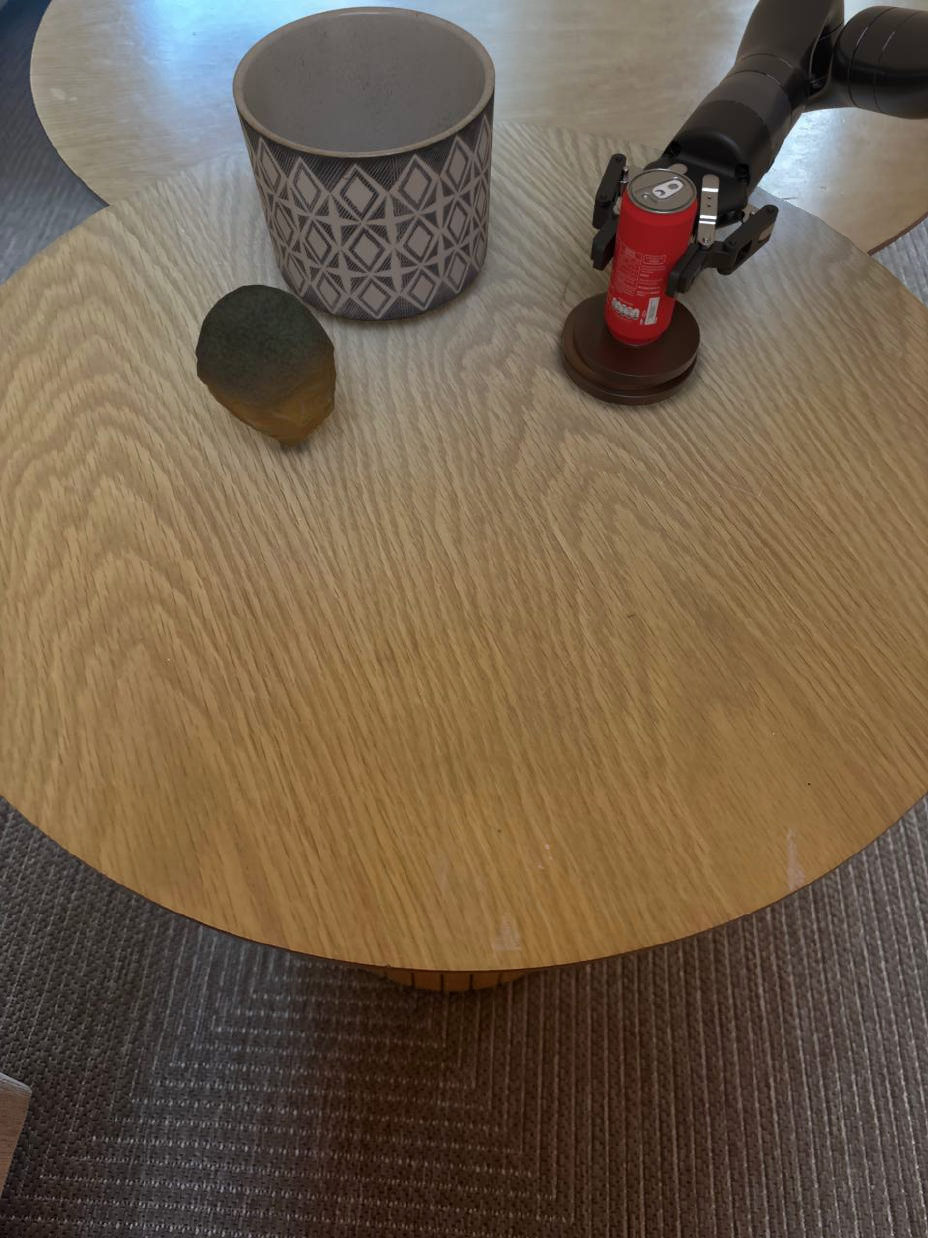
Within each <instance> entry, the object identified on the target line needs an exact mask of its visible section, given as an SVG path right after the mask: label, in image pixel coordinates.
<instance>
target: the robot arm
mask: <svg viewBox="0 0 928 1238" xmlns="http://www.w3.org/2000/svg"><path fill="white" fill-rule="evenodd" d="M749 16H750V17H749V18H748V21H747V23H746V27H745V30H744V32H743V35H742V38H741V40H740V43H739V46H738V50H737V52H736V55H735V60H734V63H733V66H732V67H731V68H730V69H729V70H728V72H727V73H726V75H724V77H723V78H722V79H721V81H720V83H719V84H718V85H717V86H716V87H714V88H713V89H712V90H711V91H709V93H707V95H706V96H705V97H704V98H703V99H702V100H701V101H700V103H699V104H698V105H697V107H696V108H695V109H694V111H693V112H692V113H691V114H690V116H689V117H688V118H687V119H686V121H685V122H684V123H683V125H682V126H681V128H680V129H679V130H678V131H677V133H676V134H675V135H674V136H673V138H672V139H671V140H670V142H668V144H667V146H666V147H665V148H664V150H663V152H662V154H661V155H660V157H659V158H658V159H656V160H654V161H651V162H649V163H647V164H646V165H645V166H644V167H639V166H633V165H629V164H627V161H628V160H627V159H628V157H627V156H626V155H625V154H623V153H617V152H616V153H614V154H612V155H611V156H610V159H609V161H608V163H607V165H606V168H605V171H604V173H603V176H602V179H601V181H600V183H599V186H598V188H597V191H596V193H595V198H594V205H593V214H592V222H591V226H592V227H593V229H595V230H598V231H597V232H596V234H595V235H594V236H593V238H592V242H591V250H590V260H591V261H593V262H592V269H595V270H598V271H600V272H603V271H604V270H605V269H606V267H608V265H609V264H610V262H611V261H612V260H613V254H614V247H615V241H616V234H617V228H618V221H619V214H620V208H621V201H620V202H618V200H619V198H620V199H622V196H623V193H624V192H625V190H626V189H627V186H628V183H629V182H630V180H631V179H632V178H633V177H634V176H635V175H637V174H638V173H640V172H643V171H646V170H650V169H659V168H660V169H668V170H673V171H676V172H679V173H681V174H683V175H685V176H686V177H688V178H689V179H690V180H691V181H692V182H693V183H694V185H695V187H696V192H697V194H696V198H697V203H698V205H697V211H696V215H695V219H694V223H693V228H692V232H691V236H690V238H691V239H690V240H691V242H689V245H688V248H687V250H686V251H685V253H684V254H683V255H682V256H681V257H680V259H679V260H678V262H677V263H676V264H675V266H674V267H673V269H672V270H671V272H670V275H669V277H668V282H667V286H666V291H665V295H666V296H668V297H671V298H675V297H676V298H677V296H678V294H681V295H685V294H686V293H688V292H689V291H690V290H691V289H692V287H693V286H694V285H695V283H696V281H697V280H698V279H699V277H700V275H701V274H702V273H703V272H706V271H707V270H708V269H716V272H717V273H718V274H719V275H721V276H730V275H732V274H733V273H734V272H735V271H737V270H738V269H739V268H740V267H741V266H742V265H743V264H745V262H746V261H748V260H749V259H751V258H752V256H753V255H755V254H756V253H757V252H758V251H759V250H761V249H762V248H763V247H764V246H765V245H766V244H767V243H768V242H769V241H770V239H771V237H772V233H773V231H774V227H775V225H776V222H777V218H778V215H779V212H780V209H779V208H778V207H777V205H774V204H771V203H770V204H764V205H763V206H762V207H761V208H757V207H756V206H754V205H752V204H750V203H749V199H750V197H751V195H752V194H753V192H754V191H755V190H756V188H757V187H758V185H759V184H760V182H761V181H762V180H763V178H764V176H765V175H766V174H768V173H769V171H770V170H771V168H772V167H773V166H774V163H775V162H776V161H775V160H776V159H777V157H778V155H779V153H780V152H781V149H782V147H783V145H784V142H785V140H786V139H787V137H788V135H789V134H790V132H792V130H793V128H794V127H795V125H796V124H797V122H798V121H799V119H800V117H801V116H802V115H803V114H806V113H807V114H808V113H811V112H816V111H823V110H833V109H834V110H835V109H848V108H850V109H851V108H852V109H853V108H855V109H856V108H857V109H859V110H860V109H861V110H864V111H868V112H872V113H877V114H881V115H885V116H887V117H888V116H889V117H893V118H896V119H901V120H902V119H903V120H910V121H919V120H928V10H923V9H916V8H907V7H901V6H893V5H873V6H870V7H869V6H868V7H866V8H864V9H862V10H860V11H858V12H857V13H855V14H854V15H853V16H851V18H850V19H849V20H848V21H847V22H845V19H846V18H845V0H758V2H757V3H756V5H755V7H754V9H753V10H752V12H751V13H750V15H749ZM738 223H741V224H740V226H738V227H737V228H736V229H735V230H734V231H733V232H732V233H730V234H729V235H728V236H727V237H726V238H725V239H724V240H716V231H717V230H720V229H723V228H726V227H730V226H733V225H736V224H738Z"/></svg>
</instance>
